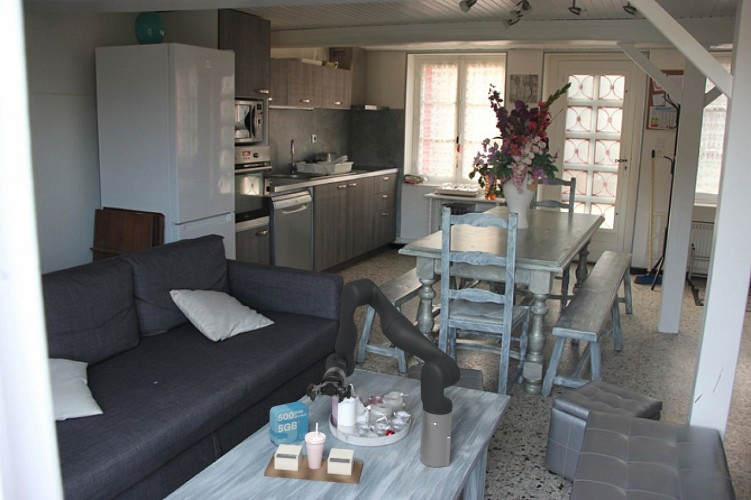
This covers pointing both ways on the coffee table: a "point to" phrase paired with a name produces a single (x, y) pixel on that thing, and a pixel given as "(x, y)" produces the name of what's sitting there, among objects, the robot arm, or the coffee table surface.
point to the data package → (288, 423)
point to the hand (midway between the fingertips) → (326, 399)
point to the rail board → (332, 469)
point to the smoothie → (315, 448)
